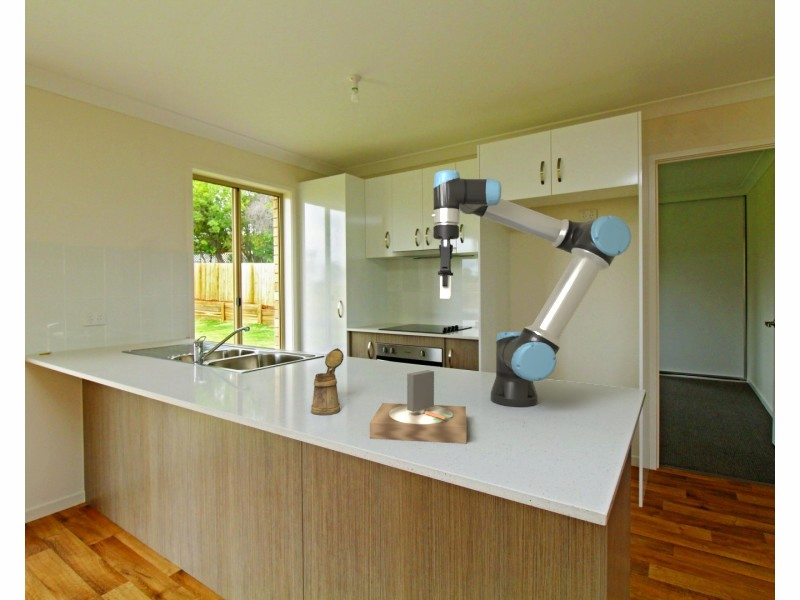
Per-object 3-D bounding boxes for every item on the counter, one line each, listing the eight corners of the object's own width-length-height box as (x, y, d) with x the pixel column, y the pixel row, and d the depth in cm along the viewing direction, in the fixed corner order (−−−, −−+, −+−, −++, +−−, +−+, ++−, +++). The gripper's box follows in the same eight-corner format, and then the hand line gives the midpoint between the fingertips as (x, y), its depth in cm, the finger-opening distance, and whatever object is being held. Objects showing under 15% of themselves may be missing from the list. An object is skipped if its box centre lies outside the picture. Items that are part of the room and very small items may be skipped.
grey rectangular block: (427, 408, 120) (427, 369, 119) (455, 417, 112) (455, 376, 112) (407, 414, 115) (407, 373, 114) (434, 423, 107) (434, 380, 107)
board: (465, 420, 124) (465, 405, 124) (466, 443, 106) (466, 425, 106) (382, 416, 127) (382, 401, 127) (369, 438, 109) (369, 421, 109)
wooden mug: (351, 404, 140) (350, 348, 139) (332, 416, 127) (332, 355, 126) (325, 401, 143) (325, 347, 142) (305, 413, 130) (305, 353, 129)
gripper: (435, 230, 140) (435, 296, 141) (430, 219, 115) (430, 299, 116) (459, 230, 139) (458, 296, 140) (458, 218, 114) (458, 299, 115)
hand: (445, 297), depth 128 cm, fingers open, 13 cm apart
